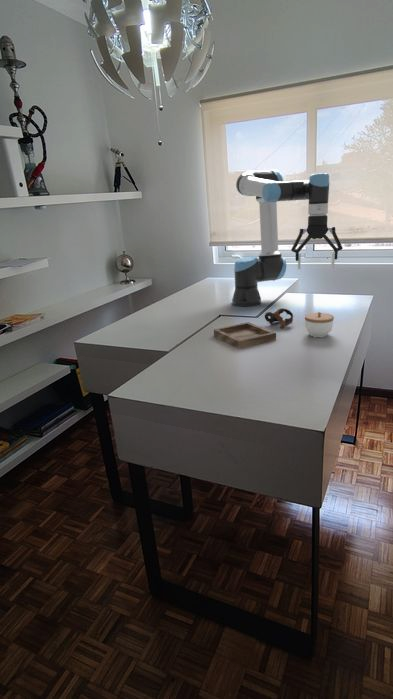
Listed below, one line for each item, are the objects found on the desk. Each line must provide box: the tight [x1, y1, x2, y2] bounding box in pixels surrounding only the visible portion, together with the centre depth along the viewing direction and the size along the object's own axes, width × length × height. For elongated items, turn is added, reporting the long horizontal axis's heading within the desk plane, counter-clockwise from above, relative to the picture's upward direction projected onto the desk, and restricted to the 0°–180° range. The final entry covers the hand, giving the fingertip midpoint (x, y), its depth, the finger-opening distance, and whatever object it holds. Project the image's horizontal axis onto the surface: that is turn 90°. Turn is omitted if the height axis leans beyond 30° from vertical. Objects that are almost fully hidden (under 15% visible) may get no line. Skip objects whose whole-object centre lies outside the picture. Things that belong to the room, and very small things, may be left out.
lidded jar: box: [304, 311, 335, 338], centre depth 163 cm, size 11×11×9 cm
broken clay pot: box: [264, 307, 294, 329], centre depth 179 cm, size 12×10×8 cm
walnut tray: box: [213, 321, 277, 350], centre depth 166 cm, size 19×17×3 cm
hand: (315, 268), depth 175 cm, fingers open, 13 cm apart
